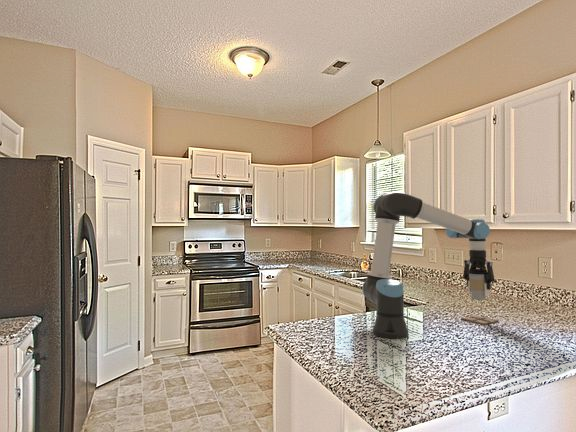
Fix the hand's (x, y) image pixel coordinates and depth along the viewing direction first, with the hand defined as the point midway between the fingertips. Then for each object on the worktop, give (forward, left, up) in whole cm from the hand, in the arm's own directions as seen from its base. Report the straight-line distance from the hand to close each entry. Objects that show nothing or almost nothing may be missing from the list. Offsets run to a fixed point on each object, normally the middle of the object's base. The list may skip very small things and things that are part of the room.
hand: (478, 294), depth 178 cm
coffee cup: (0, 0, -2) cm, 2 cm away
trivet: (0, 0, -13) cm, 13 cm away
